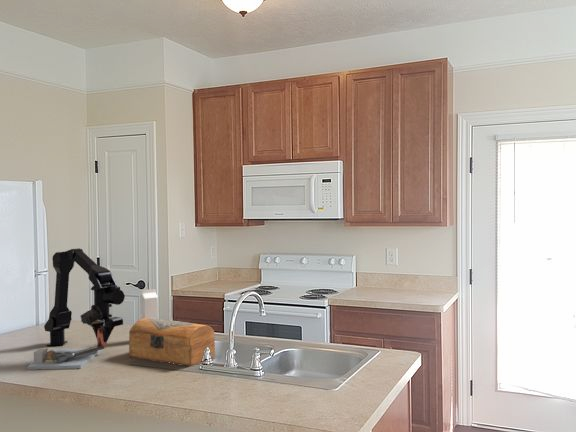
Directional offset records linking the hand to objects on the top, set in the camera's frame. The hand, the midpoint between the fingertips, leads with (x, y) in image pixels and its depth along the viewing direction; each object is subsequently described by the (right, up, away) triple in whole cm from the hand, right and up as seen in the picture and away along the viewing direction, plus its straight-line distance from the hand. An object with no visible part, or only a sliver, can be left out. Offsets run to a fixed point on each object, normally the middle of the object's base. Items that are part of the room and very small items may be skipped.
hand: (102, 341), depth 220 cm
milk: (+13, -5, +22) cm, 26 cm away
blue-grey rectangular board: (-11, -5, -8) cm, 15 cm away
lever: (-5, -3, -8) cm, 10 cm away
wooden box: (+28, -5, -6) cm, 29 cm away
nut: (-15, -2, -13) cm, 20 cm away
